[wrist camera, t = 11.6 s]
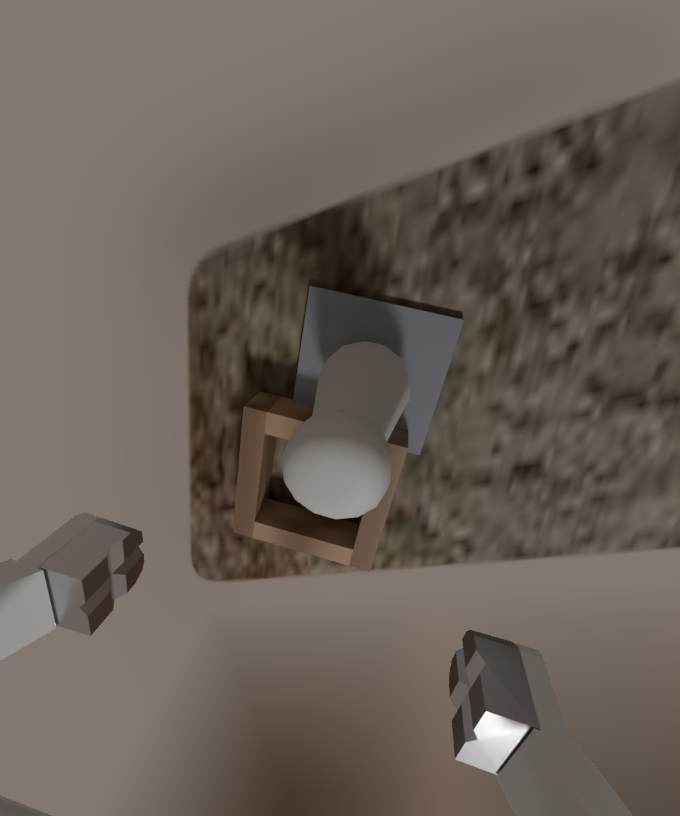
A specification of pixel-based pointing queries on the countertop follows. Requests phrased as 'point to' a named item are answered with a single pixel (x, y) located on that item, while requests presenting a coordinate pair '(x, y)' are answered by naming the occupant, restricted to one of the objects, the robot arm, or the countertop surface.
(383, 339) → the slate mat
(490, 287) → the countertop surface
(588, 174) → the countertop surface
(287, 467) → the salt shaker
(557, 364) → the countertop surface
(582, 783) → the robot arm
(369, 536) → the pocket frame
